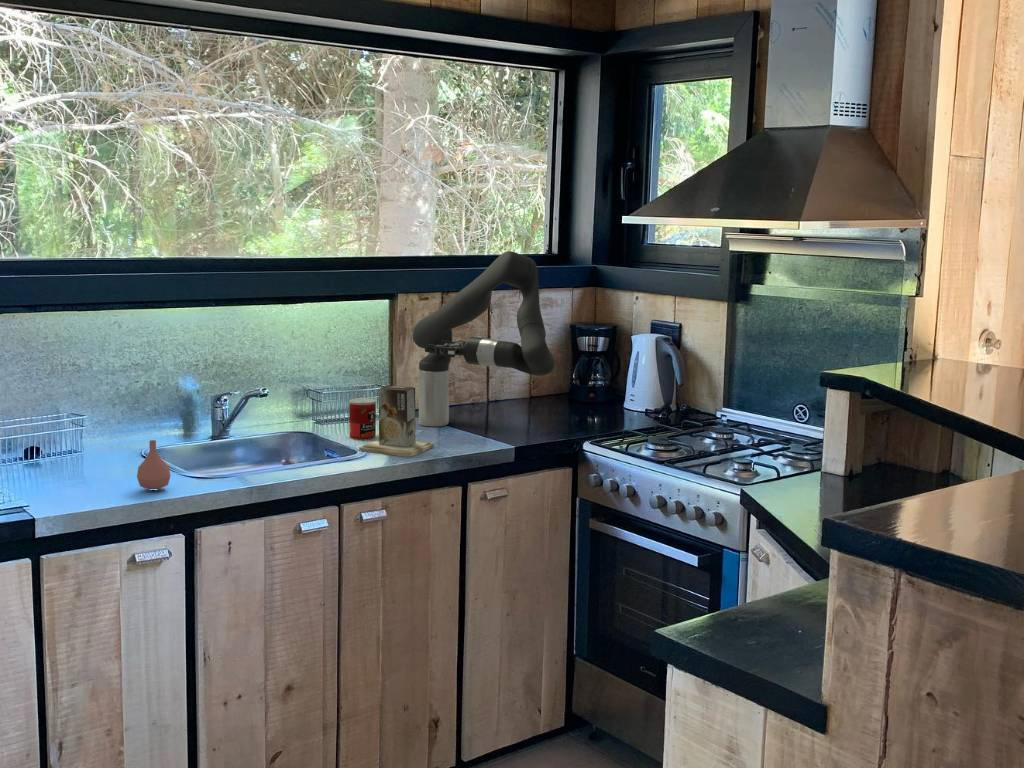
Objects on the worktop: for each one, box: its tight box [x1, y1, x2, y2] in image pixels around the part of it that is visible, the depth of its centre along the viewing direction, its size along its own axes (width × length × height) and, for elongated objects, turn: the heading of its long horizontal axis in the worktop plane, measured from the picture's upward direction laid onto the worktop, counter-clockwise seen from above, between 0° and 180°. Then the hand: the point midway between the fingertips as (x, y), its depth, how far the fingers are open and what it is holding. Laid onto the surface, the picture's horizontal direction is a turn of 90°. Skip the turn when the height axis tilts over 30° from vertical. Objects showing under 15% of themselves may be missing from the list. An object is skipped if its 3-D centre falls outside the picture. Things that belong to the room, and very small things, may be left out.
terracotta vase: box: [136, 439, 172, 490], centre depth 266 cm, size 8×8×12 cm
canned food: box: [348, 397, 377, 441], centre depth 329 cm, size 8×8×11 cm
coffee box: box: [377, 385, 417, 447], centre depth 313 cm, size 9×6×16 cm
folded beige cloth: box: [358, 439, 435, 458], centre depth 315 cm, size 14×16×2 cm
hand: (433, 346), depth 313 cm, fingers open, 8 cm apart
